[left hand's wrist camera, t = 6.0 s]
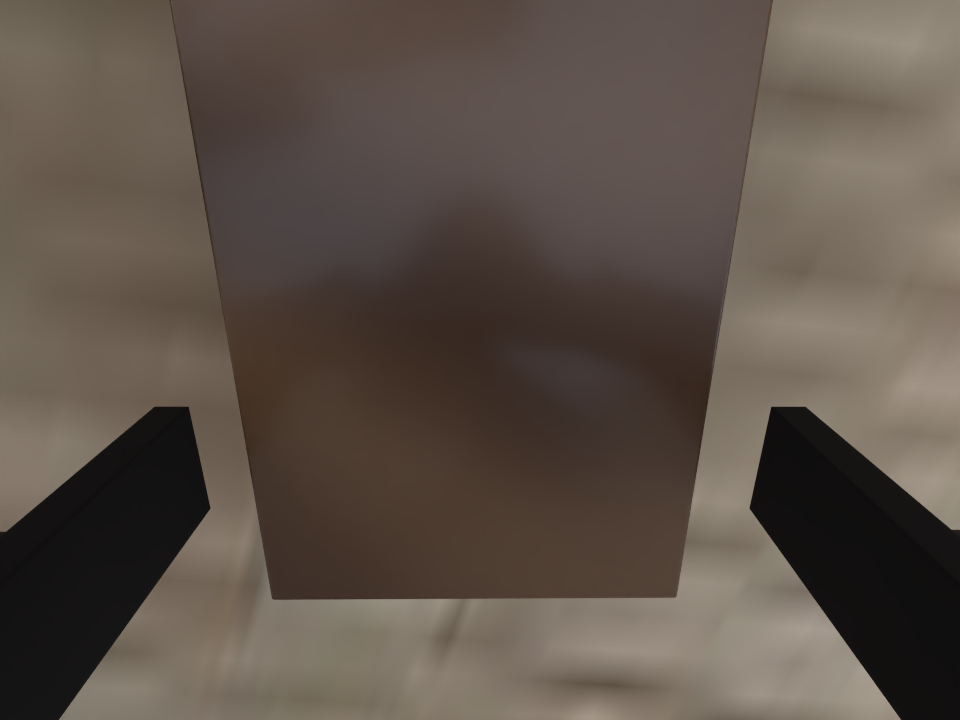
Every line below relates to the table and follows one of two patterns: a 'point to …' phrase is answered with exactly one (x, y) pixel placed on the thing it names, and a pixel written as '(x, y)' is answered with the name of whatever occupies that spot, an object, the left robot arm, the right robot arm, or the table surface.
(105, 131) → the table surface
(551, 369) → the long brown box
